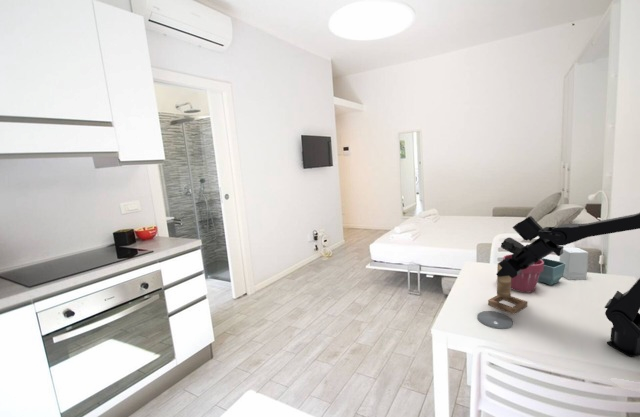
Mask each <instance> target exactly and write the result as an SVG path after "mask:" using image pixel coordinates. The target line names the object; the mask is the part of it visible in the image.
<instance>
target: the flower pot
mask: <svg viewBox="0 0 640 417" xmlns="http://www.w3.org/2000/svg"><path fill="white" fill-rule="evenodd" d="M541 260H543V262H544V268H543V271H542V272H540V275H539V278H538V281H537V282H540V283H544V284H546V285H549V286H551V285H555V284H557V283H559V281H560V280H561V279H562V277H563V273H564V268H565V263H562V262H559V261H557V260H555V259H554V260H553V259H548V258H546V257H544V258H542V259H541Z"/></svg>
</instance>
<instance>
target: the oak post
mask: <svg viewBox="0 0 640 417" xmlns="http://www.w3.org/2000/svg"><path fill="white" fill-rule="evenodd" d="M496 268H497V272H496V274H497V273H498V272H499V271H500V269H501V268H502V267H501V266H500V265H499V262H498V263H497V267H496ZM496 278H497V279H496V296H497V295H498V296H500V297H504V298H509V297H510V296H512V295H511V294H512V288H511V277H510V276H501V277H498V276H497V275H496Z"/></svg>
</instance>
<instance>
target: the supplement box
mask: <svg viewBox="0 0 640 417" xmlns="http://www.w3.org/2000/svg"><path fill="white" fill-rule="evenodd" d="M558 262H562V263H565V268H564V273H563V276H562V277H563V278H565V279H566V280H569V281H571V280H572V281H575V280H577V281H578V280H579V281H581V280H583V281H584V280H585V281H586V280H587V278H588V277H587V275H588V262H589V251H586V250H584V249H582V248H579V247H564V248H563V254H561V255H560V256H559V261H558Z"/></svg>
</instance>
